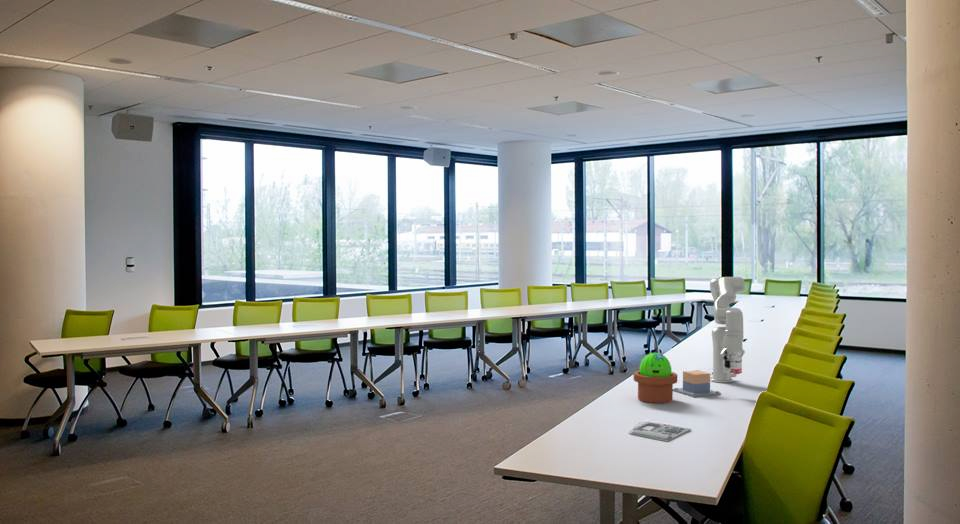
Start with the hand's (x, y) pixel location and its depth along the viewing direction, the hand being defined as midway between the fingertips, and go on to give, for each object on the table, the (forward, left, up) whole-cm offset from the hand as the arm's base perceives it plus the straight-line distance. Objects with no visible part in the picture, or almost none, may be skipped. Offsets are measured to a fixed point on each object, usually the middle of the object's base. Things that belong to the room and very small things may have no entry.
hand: (732, 366), depth 388 cm
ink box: (0, 0, -3) cm, 3 cm away
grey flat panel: (+81, +47, -16) cm, 95 cm away
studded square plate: (+13, -12, -15) cm, 24 cm away
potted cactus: (+44, -6, -15) cm, 47 cm away
